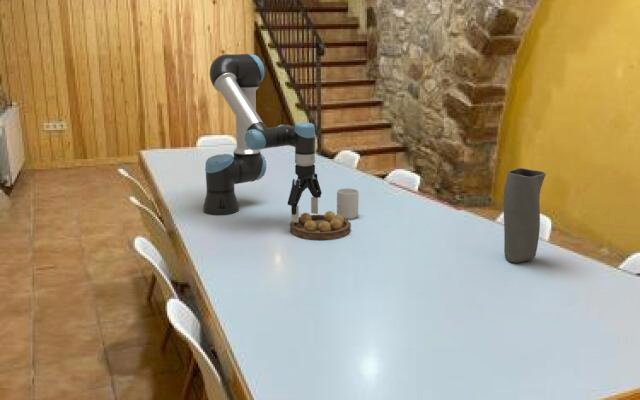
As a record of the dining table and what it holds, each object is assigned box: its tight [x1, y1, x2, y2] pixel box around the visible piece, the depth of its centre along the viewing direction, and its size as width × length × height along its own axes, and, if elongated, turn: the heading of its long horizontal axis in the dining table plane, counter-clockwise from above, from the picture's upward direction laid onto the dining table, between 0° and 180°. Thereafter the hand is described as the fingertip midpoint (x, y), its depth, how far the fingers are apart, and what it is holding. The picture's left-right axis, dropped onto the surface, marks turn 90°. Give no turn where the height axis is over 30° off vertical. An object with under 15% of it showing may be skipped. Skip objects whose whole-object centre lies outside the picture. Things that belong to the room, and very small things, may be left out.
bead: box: [299, 212, 312, 225], centre depth 228 cm, size 5×5×5 cm
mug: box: [336, 187, 360, 221], centre depth 242 cm, size 12×9×11 cm
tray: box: [289, 214, 352, 241], centre depth 225 cm, size 23×23×3 cm
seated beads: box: [304, 210, 344, 232], centre depth 223 cm, size 12×19×5 cm, turn 148°
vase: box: [502, 167, 547, 264], centre depth 193 cm, size 12×12×30 cm
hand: (305, 217), depth 228 cm, fingers open, 13 cm apart
